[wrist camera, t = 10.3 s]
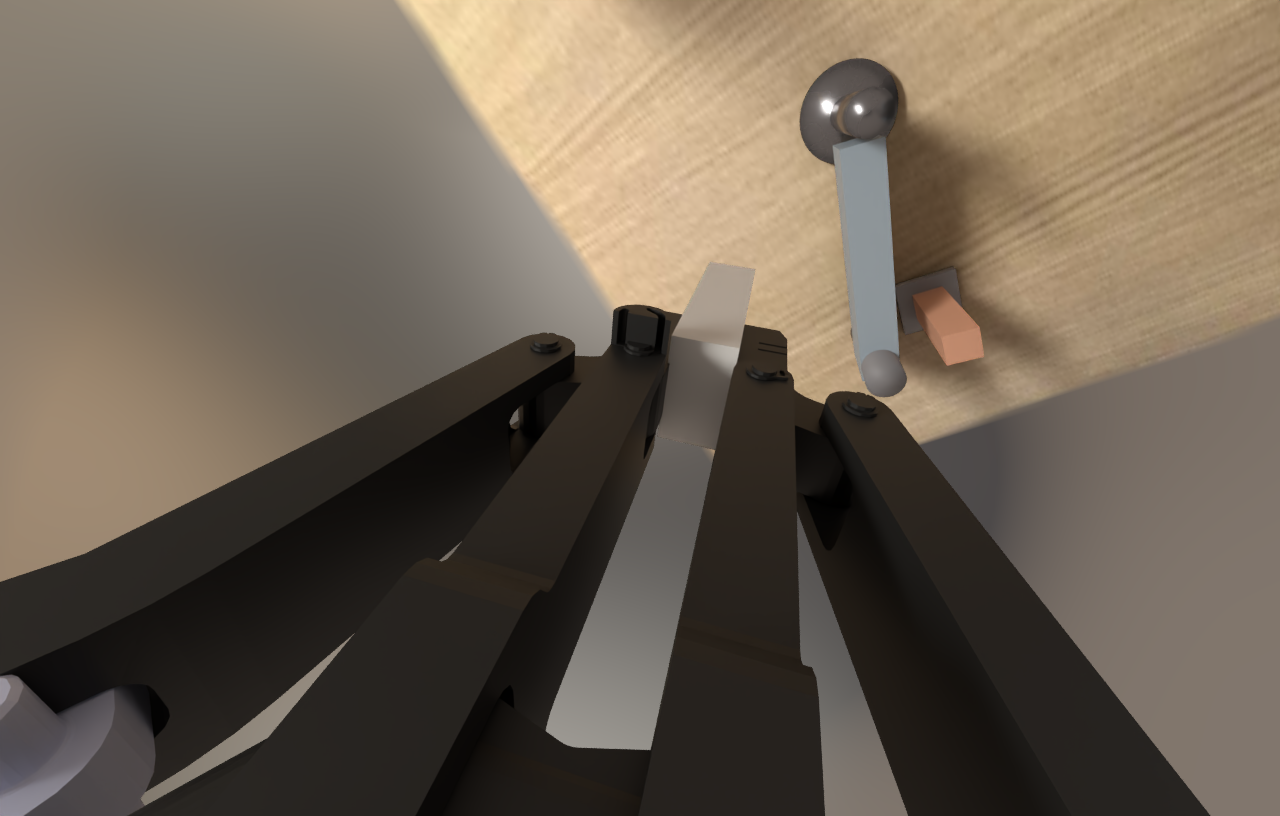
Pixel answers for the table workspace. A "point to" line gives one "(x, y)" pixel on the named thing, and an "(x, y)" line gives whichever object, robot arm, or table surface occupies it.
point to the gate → (869, 261)
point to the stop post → (939, 315)
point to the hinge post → (848, 106)
